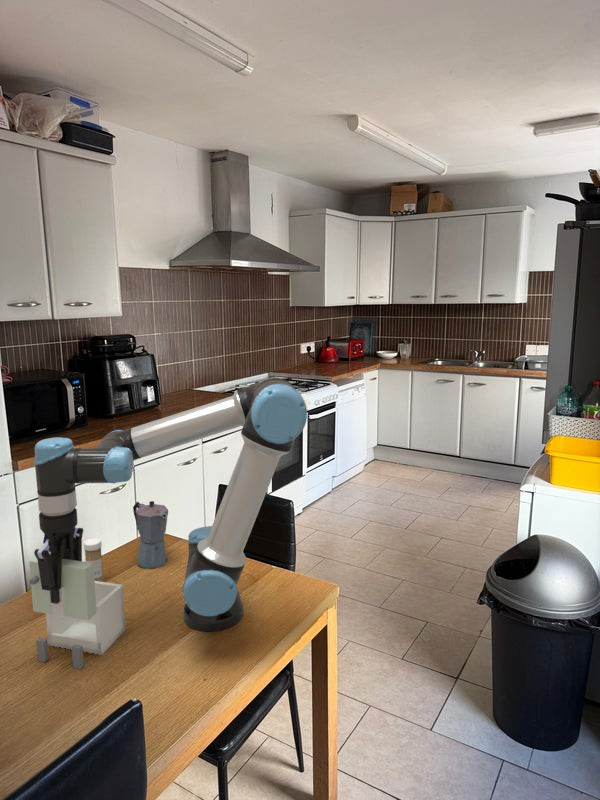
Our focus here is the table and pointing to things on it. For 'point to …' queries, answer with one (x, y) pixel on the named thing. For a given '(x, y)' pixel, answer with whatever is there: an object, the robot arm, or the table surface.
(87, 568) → the door
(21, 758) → the table surface
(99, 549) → the sprinkles bottle
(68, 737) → the table surface
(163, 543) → the moka pot
